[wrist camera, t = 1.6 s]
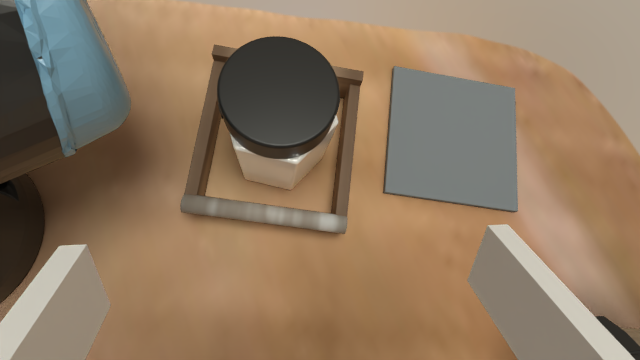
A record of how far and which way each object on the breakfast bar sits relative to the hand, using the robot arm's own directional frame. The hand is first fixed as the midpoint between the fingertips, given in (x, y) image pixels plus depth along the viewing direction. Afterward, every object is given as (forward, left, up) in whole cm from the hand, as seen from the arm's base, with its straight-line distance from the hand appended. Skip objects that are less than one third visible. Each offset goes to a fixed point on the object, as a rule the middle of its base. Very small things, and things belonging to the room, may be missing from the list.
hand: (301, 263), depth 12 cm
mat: (+16, +15, -21) cm, 30 cm away
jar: (-2, +11, -21) cm, 24 cm away
